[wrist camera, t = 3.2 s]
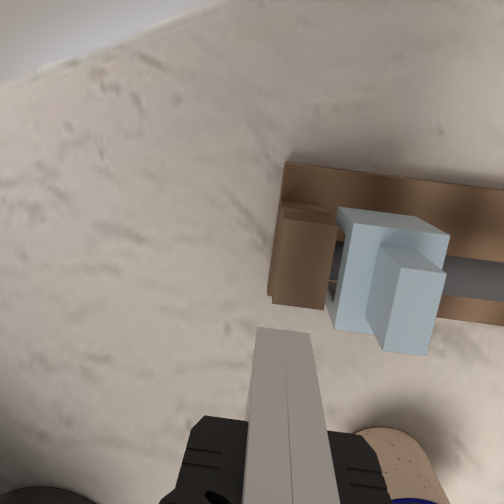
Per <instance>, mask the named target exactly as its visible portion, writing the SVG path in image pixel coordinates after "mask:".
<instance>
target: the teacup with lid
mask: <svg viewBox="0 0 504 504" xmlns="http://www.w3.org/2000/svg"><path fill="white" fill-rule="evenodd" d="M355 434H357V435H362V436H363V438H364V439H365V440H366V441H367V442H368V444H369V445H370V446H371V447H372V448H373V450H374V451H375V452H376V454H377V457H378V460H379V463H380V466H381V469H382V476H384V479H385V482H386V485H387V488H388V489H387V492H388V493H389V494H390V497H391V500H392V504H450V502H449V500H448V498H447V496H446V494H445V492H444V490H443V488H442V486H441V484H440V482H439V480H438V478H437V476H436V474H435V472H434V470H433V468H432V466H431V464H430V461H429V459H428V457H427V455H426V453H425V451H424V450H423V448H422V447H421V445H420V444H419V443H418V442H417V441H416V440H415V439H414V438H412V437H411V436H409V435H408V434H406V433H404V432H402V431H399V430H396V429H392V428H382V427H379V428H370V429H366V430H362V431H360V432H357V433H355Z"/></svg>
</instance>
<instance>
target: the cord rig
mask: <svg viewBox="0 0 504 504" xmlns="http://www.w3.org/2000/svg"><path fill="white" fill-rule="evenodd" d="M338 207H346V208H354V209H362V210H369V211H377V212H385V213H393V214H401V215H408V216H416V217H418V218H420V219H422V220H423V221H425V222H427V223H429V224H431V225H432V226H434V227H436V228H438V229H440V230H441V231H443V232H445V233H447V234H449V235H450V239H449V243H448V247H447V251H446V255H445V259H444V263H443V268H442V270H443V271H444V272H445V273H447V275H446V279H445V283H444V287H443V291H442V295H441V299H440V303H439V307H438V311H437V315H436V317H438V318H446V319H453V320H461V321H469V322H477V323H484V324H492V325H500V326H504V190H499V189H491V188H483V187H475V186H468V185H460V184H452V183H444V182H436V181H428V180H421V179H413V178H405V177H397V176H389V175H381V174H374V173H366V172H358V171H350V170H342V169H334V168H326V167H319V166H311V165H303V164H295V163H287V162H285V164H284V171H283V178H282V185H281V192H280V199H279V207H278V214H277V221H276V228H275V235H274V242H273V250H272V257H271V264H270V271H269V278H268V285H267V295H268V296H272V304H280V305H288V306H295V307H303V308H311V309H318V310H324V305H325V300H326V294H327V288H328V283H329V281H332V282H337V280H338V275H339V269H340V264H341V258H342V253H343V247H344V242H345V236H346V235H345V234H344V233H343V231H342V230H341V229H340V227H339V226H338V225H337V223H336V222H335V221H336V215H337V209H338Z"/></svg>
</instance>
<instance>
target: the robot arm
mask: <svg viewBox="0 0 504 504" xmlns="http://www.w3.org/2000/svg"><path fill="white" fill-rule="evenodd" d="M387 489H388V488H387V485H386V482H385V479H384V476H382V469H381V466H380V463H379V460H378V457H377V454H376V452H375V451H374V450H373V448H372V447H371V446H370V445H369V444H368V442H367V441H366V440H365V439H364V438H363V436H362V435H357V434H349V433H342V432H334V431H327V428H326V423H325V417H324V412H323V406H322V401H321V395H320V390H319V384H318V379H317V373H316V368H315V362H314V357H313V351H312V346H311V340H310V335H309V334H308V333H300V332H293V331H285V330H278V329H270V328H263V327H257V335H256V342H255V349H254V357H253V364H252V371H251V378H250V386H249V393H248V400H247V408H246V418H245V421H241V420H233V419H226V418H219V417H211V416H204V417H203V418H202V419H201V420H200V421H199V422H198V423H197V424H196V425H195V426H194V427H193V428H192V429H191V432H190V436H189V439H188V443H187V447H186V451H185V454H184V457H183V461H182V466H181V468H180V472H179V476H178V479H177V483H176V487H175V489H174V490H173V491H171V492H170V493H169V494H167V495H166V496H165V497H164V498H162V499H161V501H160V502H159V504H392V500H391V497H390V494H389V493H388V492H387ZM0 504H93V503H92V502H90V501H88V500H87V499H85V498H83V497H81V496H78V495H76V494H74V493H71V492H68V491H64V490H60V489H55V488H48V487H30V488H23V489H18V490H15V491H11V492H9V493H6V494H4V495H2V496H1V497H0Z"/></svg>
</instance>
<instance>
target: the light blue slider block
mask: <svg viewBox="0 0 504 504" xmlns="http://www.w3.org/2000/svg"><path fill="white" fill-rule="evenodd" d="M335 222H336V223H337V225H338V226H339V227H340V229H341V230H342V231H343V233H344V234H345V235H346V236H345V242H344V247H343V253H342V258H341V264H340V269H339V275H338V280H337V282H332V281H329V283H328V288H327V294H326V300H325V303H326V306H327V309H328V312H329V315H330V318H331V321H332V324H333V327H334V329H335V330H342V331H350V332H358V333H365V334H373V335H375V337H376V339H377V341H378V343H379V345H380V346H381V348H382V350H383V351H388V352H396V353H404V354H411V355H419V356H426V355H427V351H428V347H429V343H430V339H431V335H432V331H433V327H434V323H435V319H436V315H437V311H438V307H439V303H440V299H441V295H442V291H443V287H444V283H445V279H446V275H447V273H445V272H444V271H443V270H442V268H443V263H444V259H445V255H446V251H447V247H448V243H449V239H450V235H449V234H447V233H445V232H443V231H441V230H440V229H438V228H436V227H434V226H432V225H431V224H429V223H427V222H425V221H423V220H422V219H420V218H418V217H416V216H408V215H401V214H393V213H385V212H377V211H369V210H362V209H354V208H346V207H338V209H337V215H336V221H335Z"/></svg>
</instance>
